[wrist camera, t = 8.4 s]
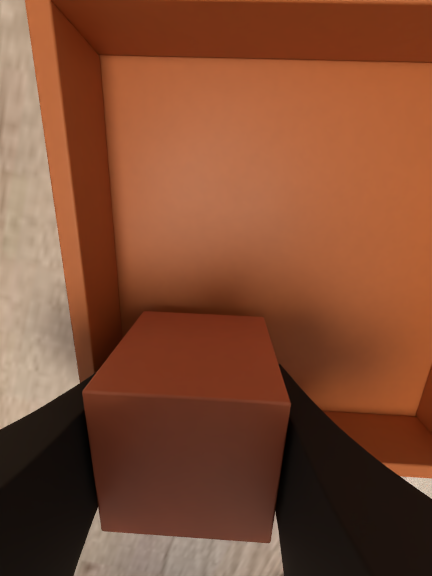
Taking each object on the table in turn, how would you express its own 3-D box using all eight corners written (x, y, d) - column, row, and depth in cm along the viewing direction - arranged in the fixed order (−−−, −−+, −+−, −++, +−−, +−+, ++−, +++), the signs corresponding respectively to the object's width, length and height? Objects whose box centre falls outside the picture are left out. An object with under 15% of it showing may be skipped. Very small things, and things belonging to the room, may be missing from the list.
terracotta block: (254, 414, 11) (270, 544, 7) (148, 408, 11) (100, 532, 7) (263, 316, 10) (291, 403, 6) (143, 310, 10) (80, 391, 6)
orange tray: (418, 420, 13) (473, 481, 10) (119, 402, 13) (90, 457, 10) (543, 48, 8) (705, -30, 5) (85, 39, 9) (18, -39, 6)
